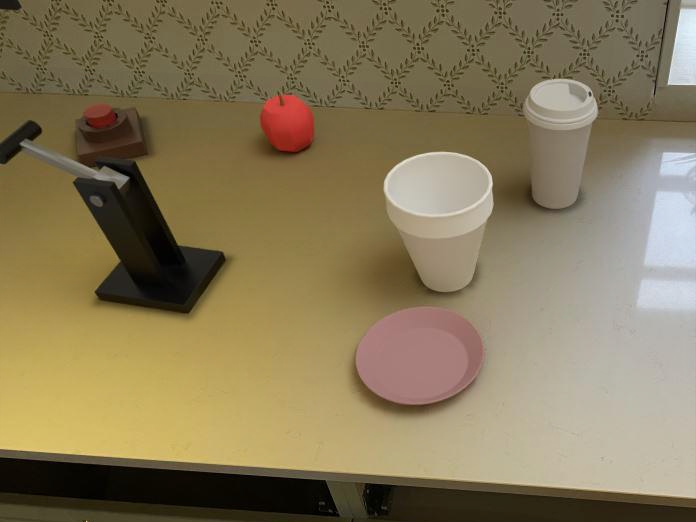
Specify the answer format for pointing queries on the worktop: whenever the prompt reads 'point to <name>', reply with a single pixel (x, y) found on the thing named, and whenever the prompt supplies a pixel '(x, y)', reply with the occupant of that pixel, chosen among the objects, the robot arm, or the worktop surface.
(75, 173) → the lever
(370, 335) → the plate
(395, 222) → the cup
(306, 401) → the worktop surface
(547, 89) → the coffee cup
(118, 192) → the bracket
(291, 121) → the apple
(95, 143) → the button block
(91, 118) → the button
